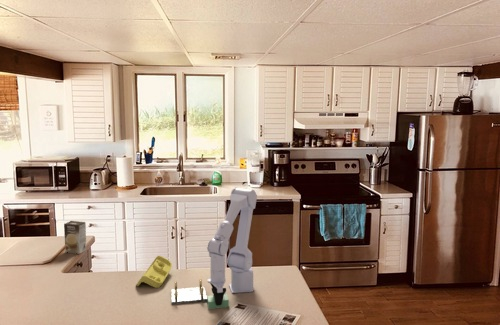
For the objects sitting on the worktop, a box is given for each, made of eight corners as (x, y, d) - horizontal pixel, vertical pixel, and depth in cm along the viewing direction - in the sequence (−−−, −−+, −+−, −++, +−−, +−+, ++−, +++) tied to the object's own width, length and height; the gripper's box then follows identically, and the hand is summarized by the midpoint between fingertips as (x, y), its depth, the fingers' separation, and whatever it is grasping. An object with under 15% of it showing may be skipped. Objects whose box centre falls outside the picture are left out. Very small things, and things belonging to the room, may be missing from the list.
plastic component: (161, 284, 161) (140, 273, 161) (154, 297, 163) (134, 287, 163) (174, 262, 181) (156, 253, 180) (168, 275, 182) (150, 265, 182)
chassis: (204, 288, 162) (204, 277, 162) (206, 301, 152) (206, 289, 151) (171, 291, 159) (171, 280, 159) (171, 304, 149) (171, 292, 148)
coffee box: (64, 252, 201) (63, 223, 199) (72, 248, 208) (70, 220, 206) (79, 254, 200) (78, 225, 198) (87, 249, 206) (85, 221, 204)
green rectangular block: (226, 300, 152) (226, 293, 152) (228, 306, 148) (228, 299, 147) (207, 302, 150) (207, 295, 150) (208, 309, 146) (208, 301, 145)
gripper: (205, 262, 153) (206, 293, 155) (209, 277, 139) (209, 311, 141) (223, 261, 155) (222, 292, 156) (228, 276, 141) (228, 309, 142)
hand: (217, 301), depth 149 cm, fingers closed on green rectangular block, 5 cm apart
